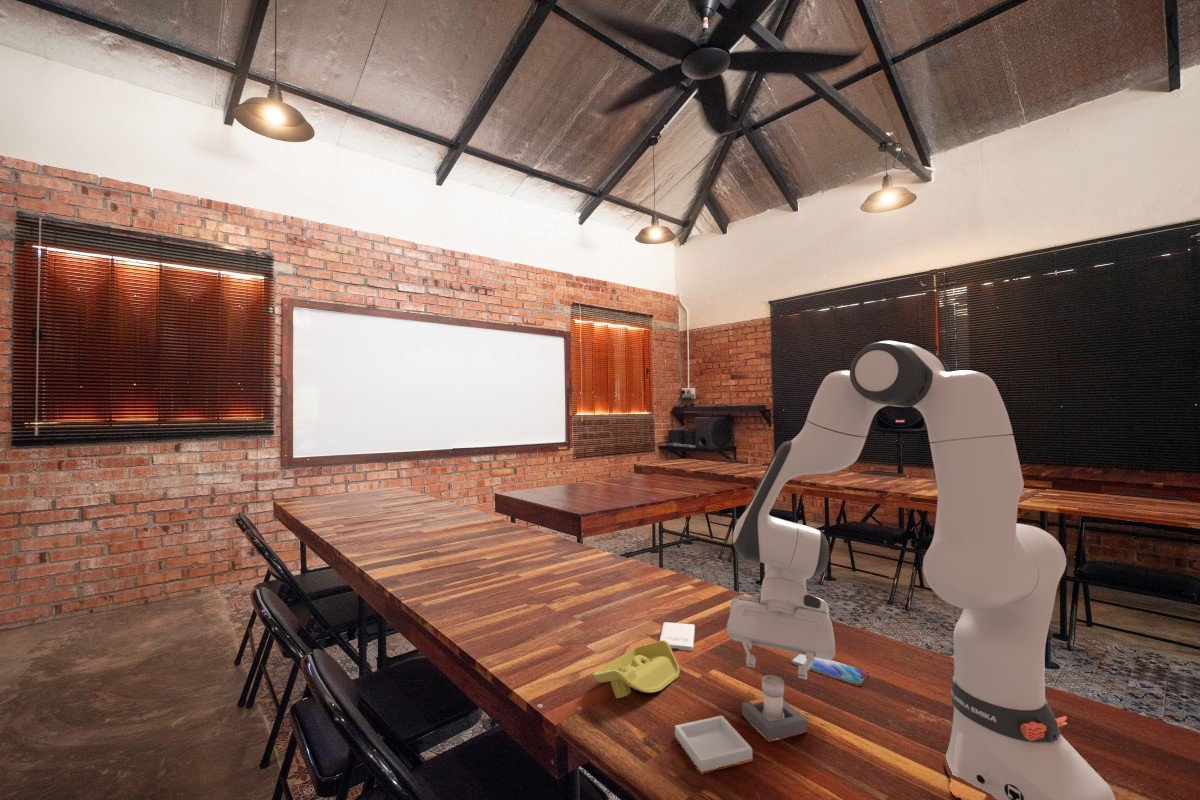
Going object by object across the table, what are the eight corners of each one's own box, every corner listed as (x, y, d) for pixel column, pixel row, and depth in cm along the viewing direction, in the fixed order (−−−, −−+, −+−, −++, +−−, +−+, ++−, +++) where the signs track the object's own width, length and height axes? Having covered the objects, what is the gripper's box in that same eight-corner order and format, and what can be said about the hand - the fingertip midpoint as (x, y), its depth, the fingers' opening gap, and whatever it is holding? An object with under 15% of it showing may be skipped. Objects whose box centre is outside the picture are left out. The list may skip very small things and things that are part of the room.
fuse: (789, 728, 92) (788, 684, 92) (771, 733, 91) (770, 687, 91) (775, 716, 96) (775, 673, 96) (758, 720, 95) (757, 677, 95)
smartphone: (802, 649, 121) (871, 672, 110) (802, 653, 121) (871, 676, 110) (789, 660, 115) (860, 684, 105) (789, 664, 115) (860, 689, 105)
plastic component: (635, 647, 119) (670, 638, 114) (646, 681, 117) (682, 673, 112) (583, 678, 103) (621, 668, 98) (595, 718, 101) (634, 710, 96)
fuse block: (806, 733, 91) (806, 718, 91) (768, 742, 88) (767, 727, 88) (778, 708, 98) (778, 694, 98) (742, 716, 96) (741, 701, 96)
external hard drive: (694, 630, 134) (692, 653, 122) (663, 628, 135) (658, 649, 123) (694, 624, 134) (692, 646, 122) (663, 621, 135) (658, 643, 123)
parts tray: (752, 761, 84) (752, 748, 84) (701, 774, 81) (700, 760, 81) (722, 727, 93) (722, 715, 93) (675, 738, 90) (674, 725, 90)
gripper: (729, 586, 108) (718, 652, 100) (835, 603, 99) (832, 678, 90) (734, 600, 112) (724, 665, 104) (837, 617, 103) (834, 691, 94)
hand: (775, 671), depth 97 cm, fingers open, 8 cm apart
